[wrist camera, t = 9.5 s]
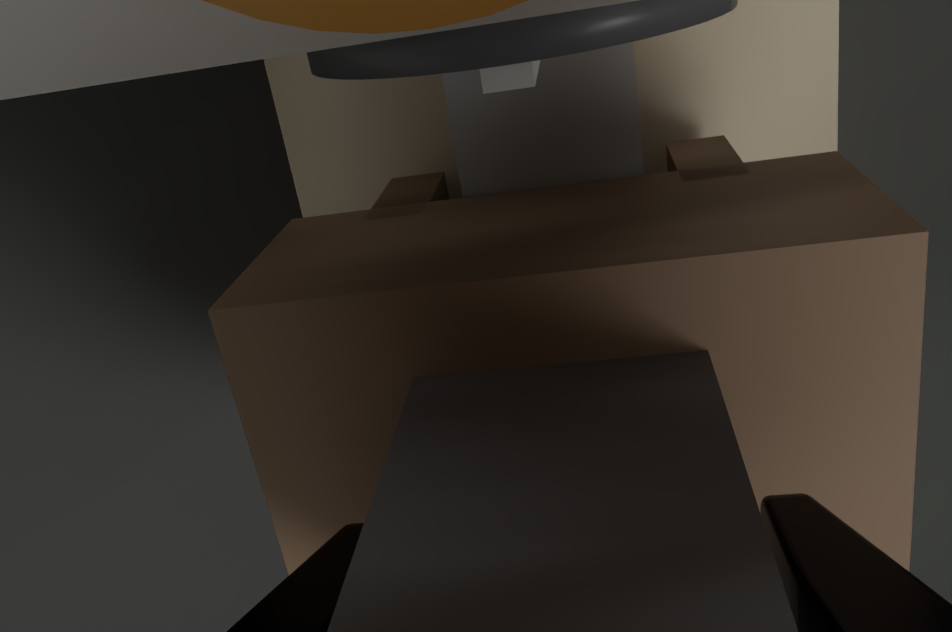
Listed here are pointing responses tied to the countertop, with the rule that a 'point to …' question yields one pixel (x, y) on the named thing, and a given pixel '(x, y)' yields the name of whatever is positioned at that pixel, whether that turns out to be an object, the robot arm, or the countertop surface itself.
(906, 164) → the countertop surface
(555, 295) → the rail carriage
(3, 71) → the cabinet
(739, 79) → the rail track
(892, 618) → the robot arm
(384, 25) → the plunger
